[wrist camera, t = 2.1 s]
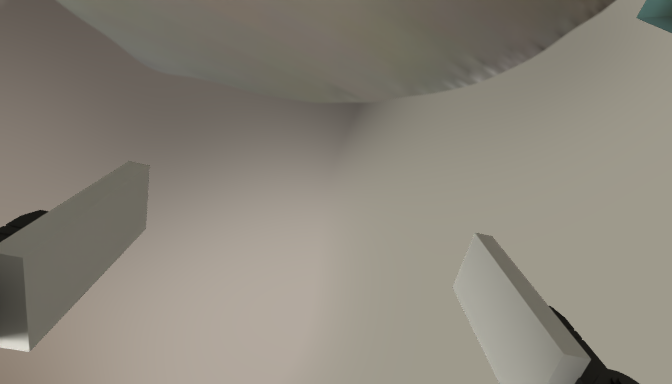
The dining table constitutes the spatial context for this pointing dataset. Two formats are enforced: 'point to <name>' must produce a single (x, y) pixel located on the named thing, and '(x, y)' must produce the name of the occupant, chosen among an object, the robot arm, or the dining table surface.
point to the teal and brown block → (657, 13)
